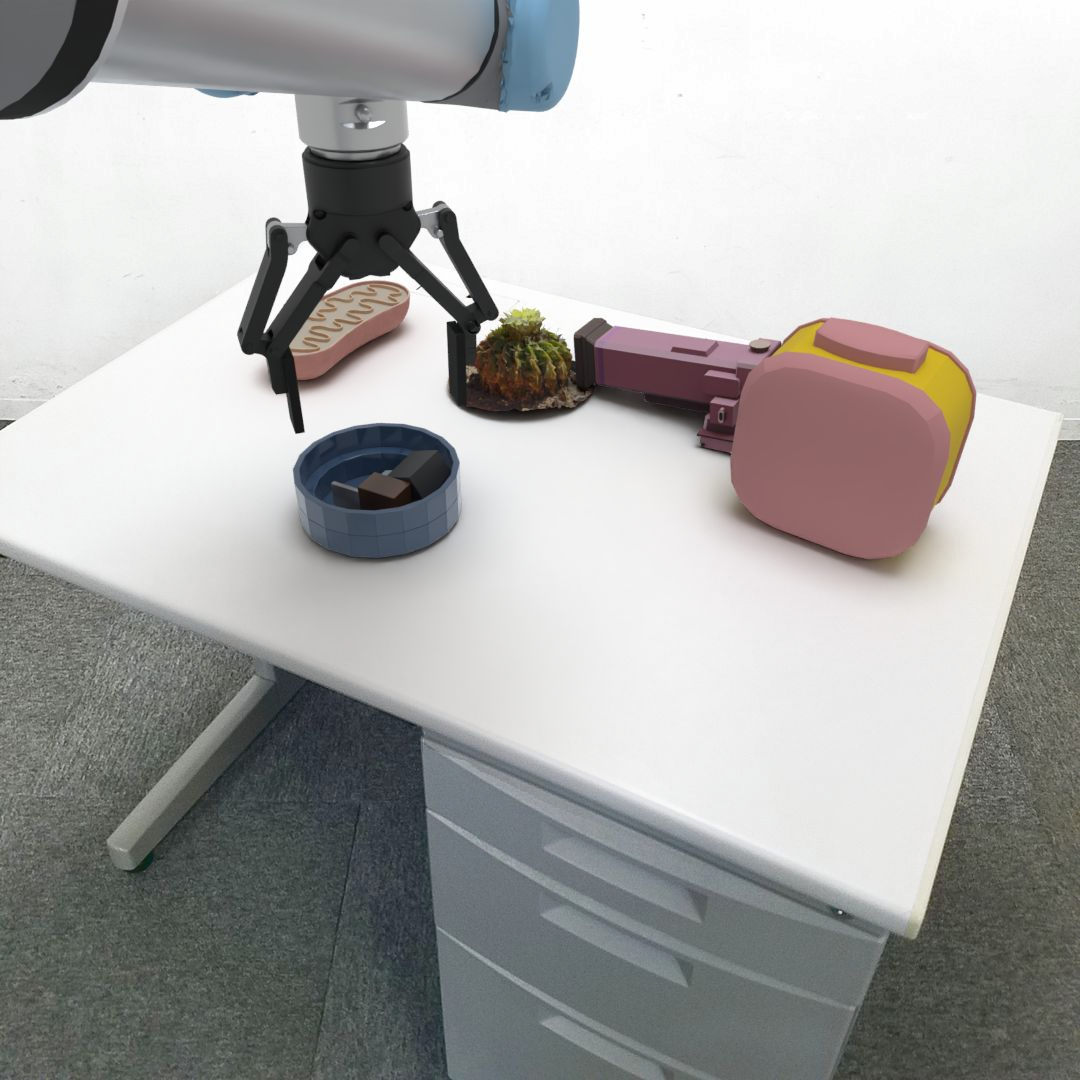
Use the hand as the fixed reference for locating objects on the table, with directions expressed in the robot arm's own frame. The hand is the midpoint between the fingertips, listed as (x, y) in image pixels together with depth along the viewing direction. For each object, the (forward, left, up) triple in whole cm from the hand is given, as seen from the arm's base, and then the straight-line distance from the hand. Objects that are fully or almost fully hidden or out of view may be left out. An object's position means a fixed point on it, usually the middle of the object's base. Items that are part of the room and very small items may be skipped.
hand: (379, 412), depth 80 cm
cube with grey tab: (+4, +4, -12) cm, 13 cm away
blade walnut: (+1, +4, -14) cm, 14 cm away
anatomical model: (+23, +33, -14) cm, 43 cm away
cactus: (+31, +10, -14) cm, 35 cm away
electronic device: (+38, -8, -14) cm, 41 cm away
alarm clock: (+30, -29, -14) cm, 44 cm away
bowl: (+3, +5, -14) cm, 15 cm away
